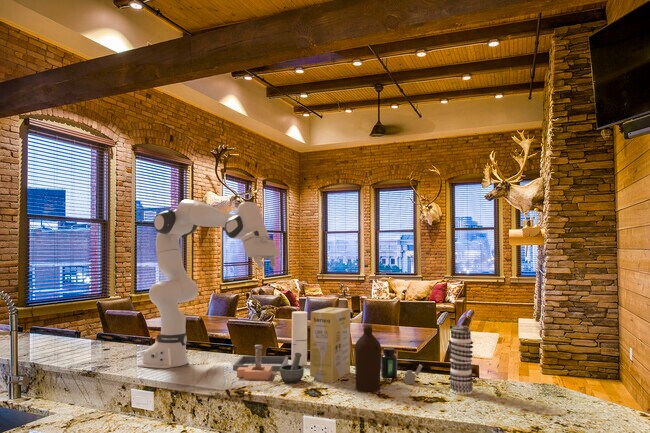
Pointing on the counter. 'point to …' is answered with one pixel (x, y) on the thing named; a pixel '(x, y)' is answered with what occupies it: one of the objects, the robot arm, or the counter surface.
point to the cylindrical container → (299, 336)
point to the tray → (262, 361)
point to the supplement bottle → (388, 363)
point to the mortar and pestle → (292, 371)
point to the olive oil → (367, 361)
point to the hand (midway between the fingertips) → (267, 267)
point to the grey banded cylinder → (460, 360)
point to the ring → (254, 372)
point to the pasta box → (330, 344)
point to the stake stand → (258, 366)
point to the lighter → (411, 375)
